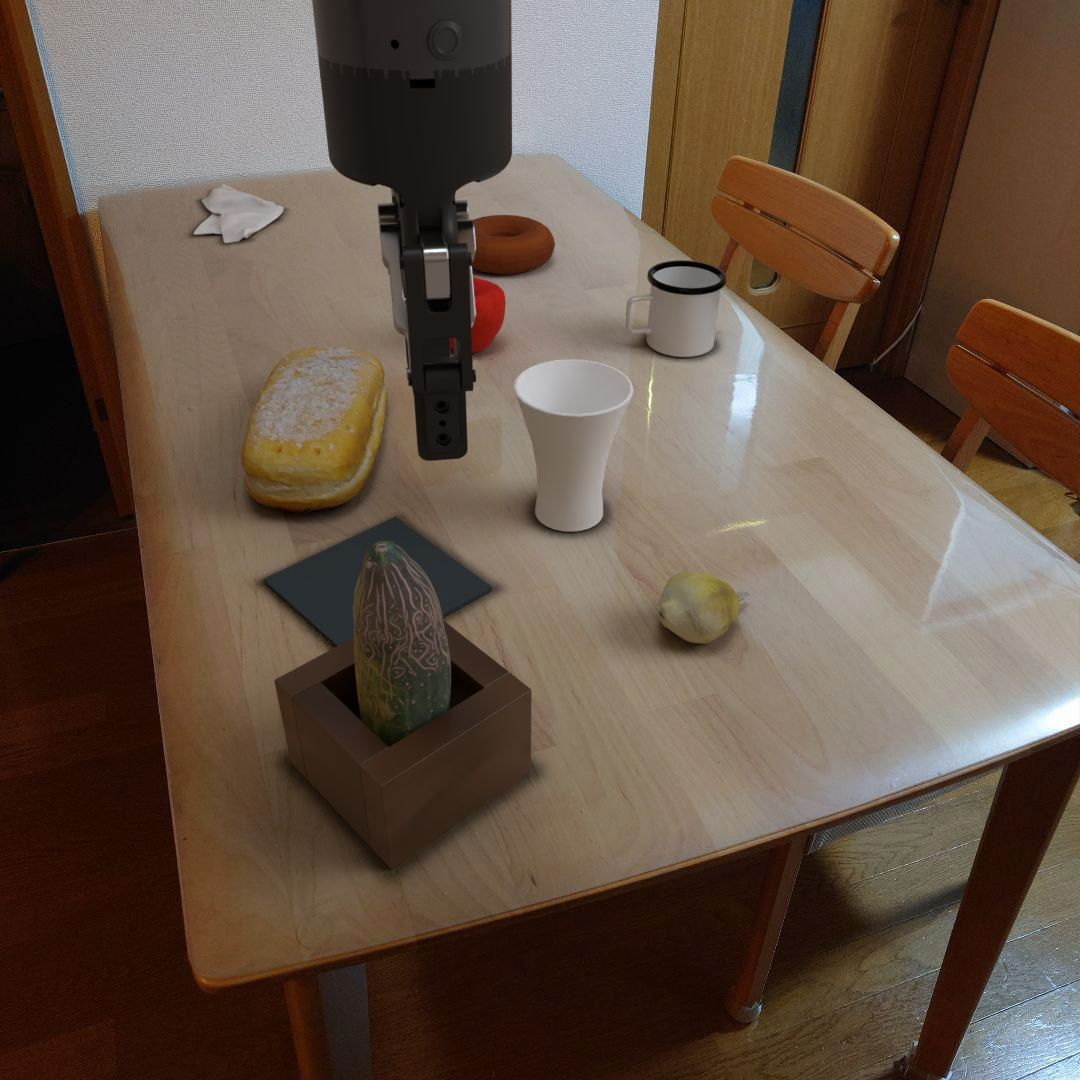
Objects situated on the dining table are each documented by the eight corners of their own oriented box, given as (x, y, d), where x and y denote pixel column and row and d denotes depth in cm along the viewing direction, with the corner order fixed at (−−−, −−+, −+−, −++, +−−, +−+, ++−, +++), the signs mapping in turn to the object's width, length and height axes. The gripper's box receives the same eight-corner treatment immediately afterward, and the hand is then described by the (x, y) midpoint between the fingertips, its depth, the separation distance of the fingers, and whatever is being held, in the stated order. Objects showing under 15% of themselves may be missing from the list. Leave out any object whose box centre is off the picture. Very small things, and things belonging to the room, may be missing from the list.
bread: (231, 526, 94) (215, 453, 89) (274, 391, 115) (263, 326, 110) (376, 522, 94) (369, 449, 90) (392, 389, 116) (387, 324, 111)
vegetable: (351, 756, 71) (317, 526, 60) (430, 722, 74) (413, 496, 62) (388, 815, 67) (360, 581, 55) (470, 776, 70) (460, 546, 58)
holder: (391, 870, 64) (380, 786, 59) (290, 761, 71) (273, 679, 66) (531, 771, 70) (531, 689, 66) (426, 681, 78) (419, 601, 73)
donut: (517, 235, 156) (517, 203, 153) (574, 265, 147) (576, 231, 144) (434, 255, 149) (433, 221, 146) (489, 288, 140) (489, 252, 137)
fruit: (774, 622, 84) (696, 664, 77) (716, 606, 88) (638, 644, 82) (773, 557, 82) (694, 593, 76) (714, 543, 86) (635, 577, 80)
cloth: (281, 240, 154) (278, 226, 152) (187, 245, 152) (184, 230, 150) (286, 187, 174) (284, 174, 173) (204, 191, 172) (201, 177, 171)
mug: (702, 324, 131) (710, 257, 125) (729, 356, 123) (738, 286, 118) (613, 332, 128) (617, 264, 123) (635, 365, 121) (640, 294, 116)
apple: (518, 354, 123) (519, 293, 119) (452, 368, 120) (450, 306, 115) (488, 326, 130) (487, 267, 125) (424, 339, 126) (420, 279, 122)
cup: (596, 557, 90) (604, 426, 82) (494, 526, 94) (491, 397, 86) (640, 499, 98) (651, 374, 90) (544, 472, 102) (546, 349, 94)
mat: (356, 665, 79) (355, 662, 79) (263, 582, 87) (263, 578, 87) (492, 590, 87) (492, 586, 86) (395, 520, 95) (395, 516, 95)
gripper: (319, 11, 44) (354, 350, 54) (312, 85, 33) (359, 498, 43) (489, 9, 45) (494, 342, 55) (539, 80, 34) (535, 484, 44)
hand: (435, 409), depth 49 cm, fingers open, 8 cm apart
